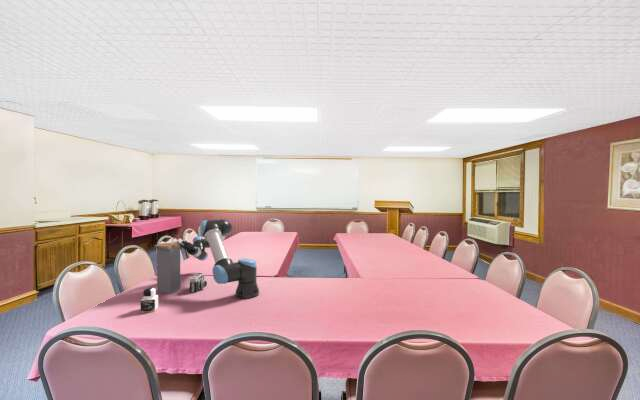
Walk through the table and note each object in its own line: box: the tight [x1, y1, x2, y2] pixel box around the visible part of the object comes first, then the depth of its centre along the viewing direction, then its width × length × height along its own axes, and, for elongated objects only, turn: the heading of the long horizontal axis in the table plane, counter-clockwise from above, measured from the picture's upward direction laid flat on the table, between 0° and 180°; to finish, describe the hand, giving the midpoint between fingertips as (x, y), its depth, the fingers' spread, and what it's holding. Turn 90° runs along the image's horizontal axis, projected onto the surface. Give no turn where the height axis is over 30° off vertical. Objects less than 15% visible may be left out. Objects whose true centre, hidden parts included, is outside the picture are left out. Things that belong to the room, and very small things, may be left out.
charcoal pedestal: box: [156, 246, 181, 295], centre depth 194 cm, size 10×10×30 cm
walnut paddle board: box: [153, 241, 181, 250], centre depth 198 cm, size 21×11×2 cm, turn 169°
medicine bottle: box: [140, 287, 159, 314], centre depth 163 cm, size 7×7×12 cm
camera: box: [189, 272, 208, 294], centre depth 198 cm, size 14×8×10 cm, turn 0°
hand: (175, 239), depth 201 cm, fingers closed on walnut paddle board, 3 cm apart
